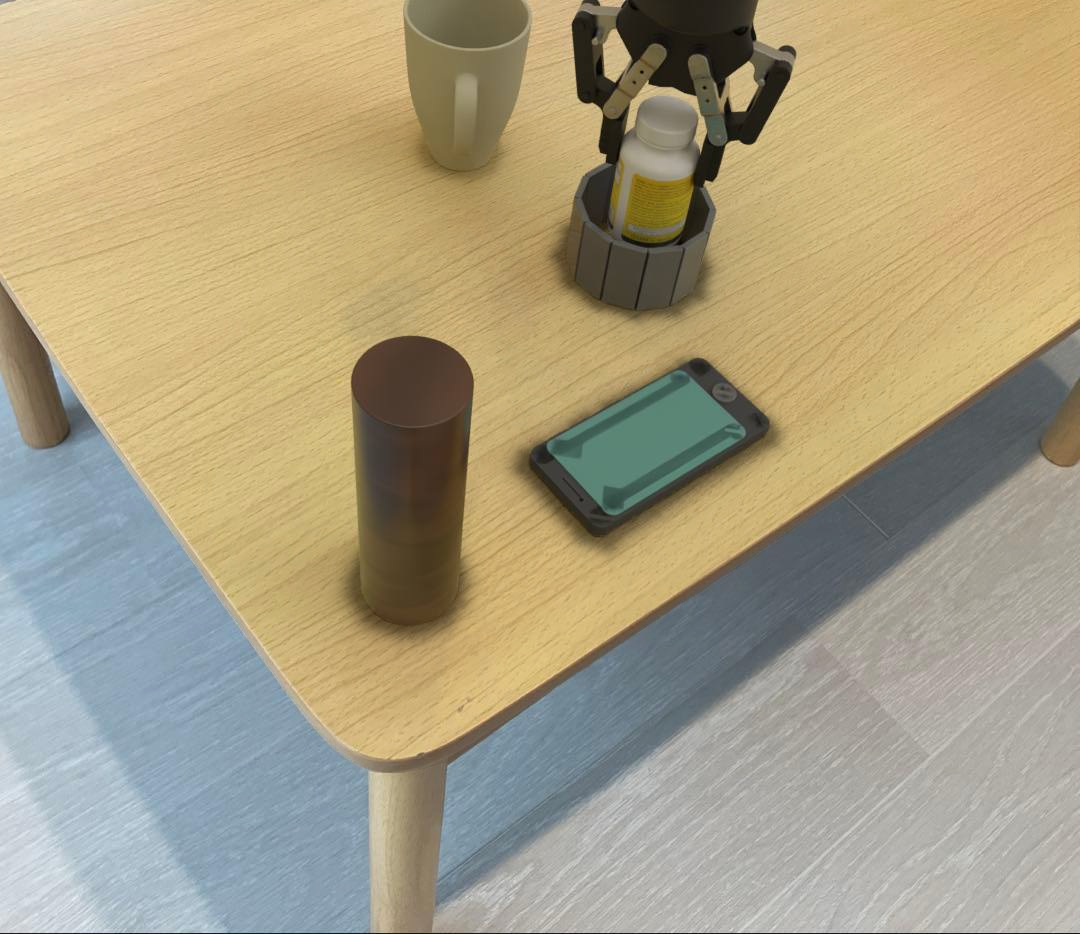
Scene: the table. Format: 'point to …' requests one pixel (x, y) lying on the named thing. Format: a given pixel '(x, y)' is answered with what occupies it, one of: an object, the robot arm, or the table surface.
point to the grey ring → (633, 250)
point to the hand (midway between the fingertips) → (657, 167)
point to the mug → (465, 73)
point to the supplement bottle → (655, 174)
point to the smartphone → (647, 445)
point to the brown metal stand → (411, 474)
